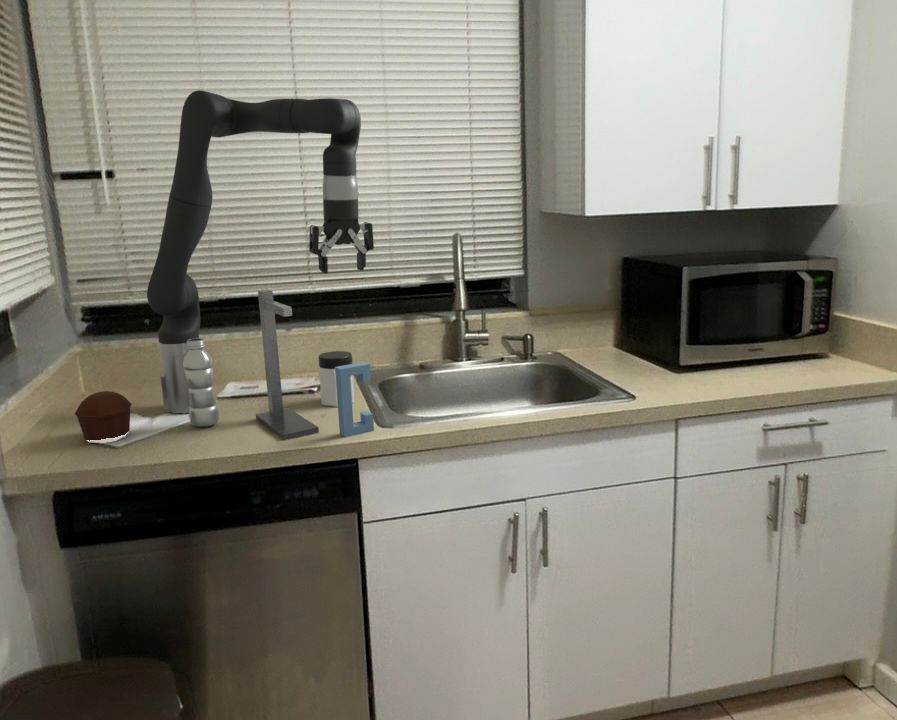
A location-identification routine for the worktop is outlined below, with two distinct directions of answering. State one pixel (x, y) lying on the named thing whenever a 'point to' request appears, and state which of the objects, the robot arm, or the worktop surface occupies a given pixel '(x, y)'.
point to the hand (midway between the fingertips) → (342, 271)
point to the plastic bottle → (200, 384)
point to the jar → (332, 375)
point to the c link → (345, 399)
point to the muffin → (104, 415)
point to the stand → (277, 375)
